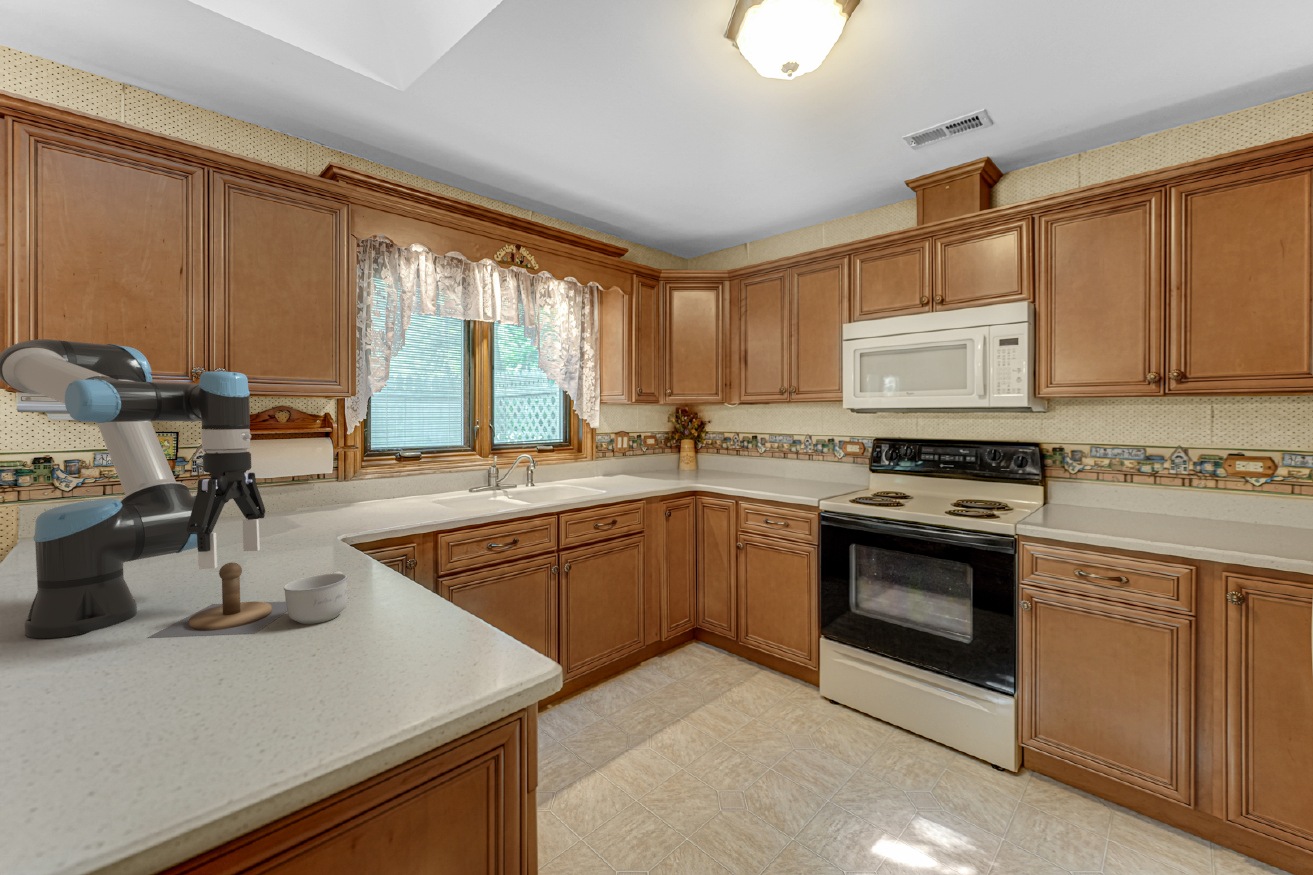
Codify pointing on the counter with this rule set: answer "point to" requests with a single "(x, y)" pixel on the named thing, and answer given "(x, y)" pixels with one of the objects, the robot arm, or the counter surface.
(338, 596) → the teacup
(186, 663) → the counter surface
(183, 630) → the mat
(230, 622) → the lid
